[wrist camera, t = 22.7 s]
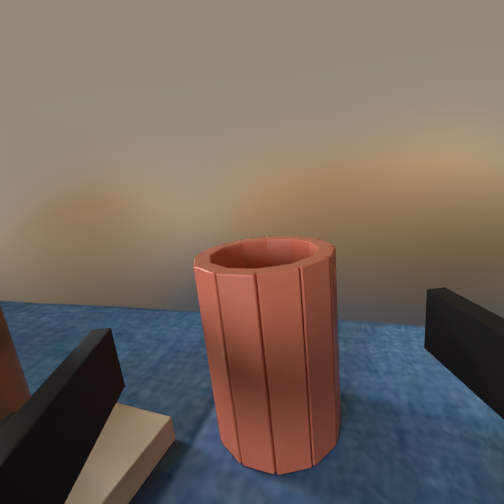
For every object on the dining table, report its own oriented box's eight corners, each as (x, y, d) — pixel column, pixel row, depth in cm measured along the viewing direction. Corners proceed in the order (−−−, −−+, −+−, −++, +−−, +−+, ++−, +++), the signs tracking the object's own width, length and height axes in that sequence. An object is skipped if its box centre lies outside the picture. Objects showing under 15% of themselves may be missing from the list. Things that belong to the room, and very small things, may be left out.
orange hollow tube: (197, 452, 16) (164, 271, 13) (247, 371, 22) (230, 236, 19) (330, 492, 13) (320, 277, 11) (345, 388, 19) (341, 234, 17)
